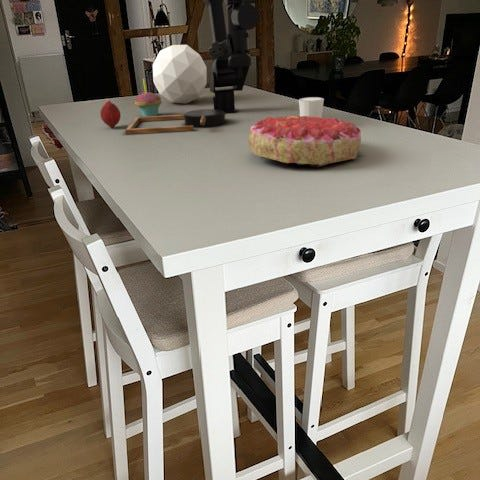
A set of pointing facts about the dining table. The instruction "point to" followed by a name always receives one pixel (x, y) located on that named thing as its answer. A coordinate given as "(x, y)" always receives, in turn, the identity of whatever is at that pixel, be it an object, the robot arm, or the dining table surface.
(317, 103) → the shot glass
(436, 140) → the dining table surface
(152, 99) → the cupcake
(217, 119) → the pan
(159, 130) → the pan rest
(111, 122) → the onion
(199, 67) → the geometric orb
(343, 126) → the cake
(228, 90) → the robot arm
